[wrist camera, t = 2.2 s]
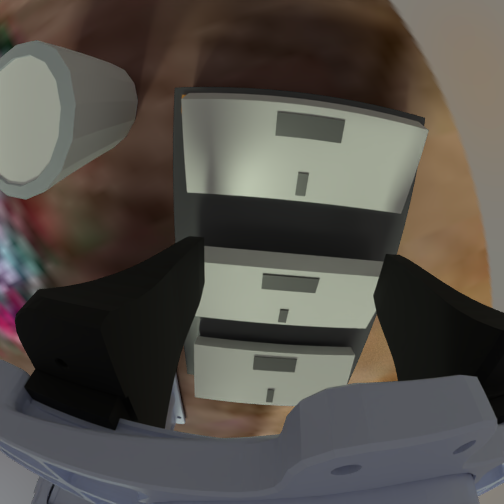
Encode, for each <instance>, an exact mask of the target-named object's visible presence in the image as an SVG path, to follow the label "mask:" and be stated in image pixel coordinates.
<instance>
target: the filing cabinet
mask: <svg viewBox="0 0 504 504" xmlns="http://www.w3.org/2000/svg"><path fill="white" fill-rule="evenodd" d="M188 93H235V94H255V95H269V96H281V97H291V98H300V99H308V100H315V101H322V102H329V103H335V104H341V105H347V106H353V107H358V108H363V109H368V110H373V111H377V112H382V113H386V114H391V115H395V116H399V117H403V118H407V119H410V120H414V121H418V122H420V123H421V124H422V125H423V126H424V123H425V118H423V117H420V116H417V115H413V114H409V113H406V112H402V111H398V110H394V109H390V108H385V107H381V106H377V105H372V104H367V103H363V102H358V101H352V100H347V99H341V98H335V97H329V96H322V95H315V94H308V93H300V92H291V91H281V90H269V89H255V88H234V87H181V88H175V95H174V126H173V192H174V224H175V243H177V242H179V241H180V240H182V239H184V238H186V237H188V236H194V237H204V246H210V247H222V248H233V249H245V250H256V251H268V252H279V253H291V254H302V255H314V256H325V257H336V258H348V259H359V260H370V261H382V262H384V258H385V255H386V254H394V255H396V254H397V251H398V247H399V244H400V240H401V237H402V233H403V229H404V225H405V221H406V217H407V213H408V209H409V205H410V201H411V196H412V192H413V187H414V182H415V177H416V173H415V176H414V179H413V182H412V185H411V188H410V191H409V193H408V196H407V199H406V202H405V204H404V207H403V210H402V212H401V214H399V213H392V212H385V211H378V210H371V209H363V208H356V207H348V206H340V205H331V204H322V203H313V202H304V201H294V200H284V199H273V198H261V197H249V196H236V195H222V194H206V193H188V192H187V185H186V172H185V159H184V143H183V126H182V104H181V99H182V98H183V97H184V96H186V95H187V94H188ZM416 172H417V170H416ZM376 315H377V312H375V313H374V315H373V317H372V319H371V320H370V322H369V324H368V325H367V327H366V328H335V327H314V326H297V325H282V324H269V323H257V322H246V321H236V320H226V319H216V318H207V317H199V316H195V317H194V319H193V322H192V324H191V327H190V329H189V332H188V335H187V337H186V340H185V342H184V349H185V357H186V365H187V373H188V374H193V375H194V343H195V341H196V338H197V336H202V337H210V338H219V339H228V340H238V341H248V342H260V343H272V344H287V345H305V346H328V347H351V348H352V350H353V352H354V354H355V357H354V361H353V365H352V368H351V372H350V375H349V379H348V382H349V380H350V377H351V375H352V373H353V371H354V369H355V366H356V364H357V362H358V359H359V357H360V355H361V352H362V350H363V348H364V345H365V343H366V340H367V338H368V335H369V333H370V330H371V328H372V325H373V322H374V320H375V317H376ZM348 382H347V384H348Z"/></svg>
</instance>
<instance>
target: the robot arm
mask: <svg viewBox="0 0 504 504" xmlns="http://www.w3.org/2000/svg"><path fill="white" fill-rule="evenodd" d="M204 284H205V263H204V237H194V236H188V237H186V238H184V239H182V240H180V241H179V242H177V243H175V244H174V245H172V246H170V247H169V248H167V249H165V250H163V251H162V252H160V253H158V254H157V255H155V256H153V257H151V258H149V259H147V260H145V261H143V262H142V263H140V264H137V265H135V266H133V267H131V268H128V269H126V270H124V271H121V272H119V273H116V274H113V275H110V276H106V277H103V278H100V279H97V280H93V281H89V282H85V283H81V284H76V285H71V286H65V287H57V288H48V289H39V290H37V291H36V293H35V294H34V295H33V296H32V297H31V298H30V299H29V300H28V301H27V302H26V304H25V305H24V306H23V307H22V308H21V309H20V310H19V311H18V313H17V314H16V318H15V325H16V331H17V334H18V336H19V339H20V341H21V343H22V345H23V347H24V349H25V351H26V353H27V355H28V356H29V358H30V360H31V362H32V364H33V366H34V367H35V370H34V372H33V373H32V375H31V376H30V375H29V374H28V373H27V372H26V371H24V370H22V369H21V368H19V367H16V366H14V365H12V364H10V363H8V362H6V361H4V360H0V451H1V452H2V453H4V454H5V455H6V456H7V457H9V458H11V459H12V460H14V461H15V462H17V463H18V464H20V465H22V466H23V467H25V468H27V469H28V470H30V471H31V472H33V473H35V474H37V475H38V476H39V479H38V481H37V484H36V487H35V490H34V493H35V495H34V497H33V500H32V503H31V504H479V499H478V496H480V495H481V494H484V493H486V492H488V491H489V490H491V489H493V488H495V487H497V486H499V485H501V484H502V483H504V313H503V312H500V311H498V310H495V309H493V308H490V307H488V306H486V305H483V304H481V303H479V302H477V301H475V300H473V299H471V298H469V297H467V296H465V295H464V294H462V293H460V292H458V291H456V290H455V289H453V288H452V287H450V286H448V285H447V284H445V283H444V282H442V281H440V280H439V279H437V278H436V277H434V276H433V275H431V274H430V273H428V272H427V271H425V270H424V269H422V268H421V267H419V266H418V265H416V264H415V263H413V262H412V261H410V260H408V259H406V258H405V257H403V256H400V255H394V254H386V255H385V258H384V262H383V265H382V269H381V272H380V275H379V279H378V282H377V285H376V288H375V291H374V294H373V298H374V303H375V308H376V312H377V316H378V319H379V321H380V324H381V327H382V330H383V332H384V335H385V338H386V340H387V343H388V346H389V349H390V351H391V354H392V357H393V360H394V364H395V368H396V373H397V378H398V381H393V382H373V383H353V384H347V385H341V386H335V387H329V388H326V389H324V390H322V391H319V392H317V393H315V394H313V395H311V396H309V397H306V398H304V399H302V400H301V401H300V402H299V403H298V404H297V405H296V406H295V407H294V409H293V410H292V411H291V412H290V413H289V414H288V415H287V417H286V420H285V423H284V426H283V429H282V432H281V433H280V434H278V435H267V436H256V437H240V438H216V437H209V436H202V435H195V434H189V433H183V432H178V431H174V427H175V423H178V424H184V423H185V415H184V411H183V406H182V401H181V396H180V391H179V385H178V380H177V374H176V370H177V366H178V362H179V358H180V354H181V351H182V348H183V345H184V342H185V340H186V337H187V335H188V332H189V329H190V327H191V324H192V322H193V319H194V317H195V314H196V312H197V309H198V307H199V304H200V301H201V297H202V293H203V288H204Z"/></svg>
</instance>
